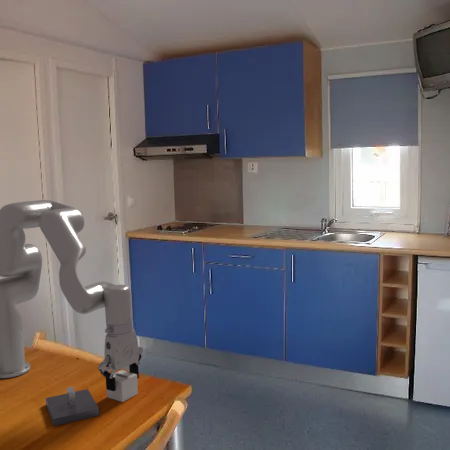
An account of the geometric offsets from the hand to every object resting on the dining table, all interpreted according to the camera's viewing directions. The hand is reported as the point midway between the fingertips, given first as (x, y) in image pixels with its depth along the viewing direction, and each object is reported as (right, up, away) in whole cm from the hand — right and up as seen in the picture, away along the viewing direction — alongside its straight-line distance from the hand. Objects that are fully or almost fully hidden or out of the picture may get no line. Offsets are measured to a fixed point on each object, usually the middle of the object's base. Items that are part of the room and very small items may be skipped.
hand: (123, 383), depth 154 cm
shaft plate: (-13, -5, -8) cm, 16 cm away
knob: (0, -4, +1) cm, 4 cm away
